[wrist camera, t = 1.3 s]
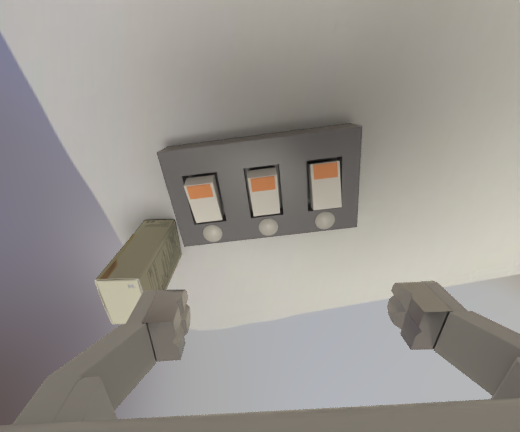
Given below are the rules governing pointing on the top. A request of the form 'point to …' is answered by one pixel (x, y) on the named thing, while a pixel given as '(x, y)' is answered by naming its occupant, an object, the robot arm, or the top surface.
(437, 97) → the top surface
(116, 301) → the skincare box
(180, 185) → the switch panel
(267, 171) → the rocker middle
